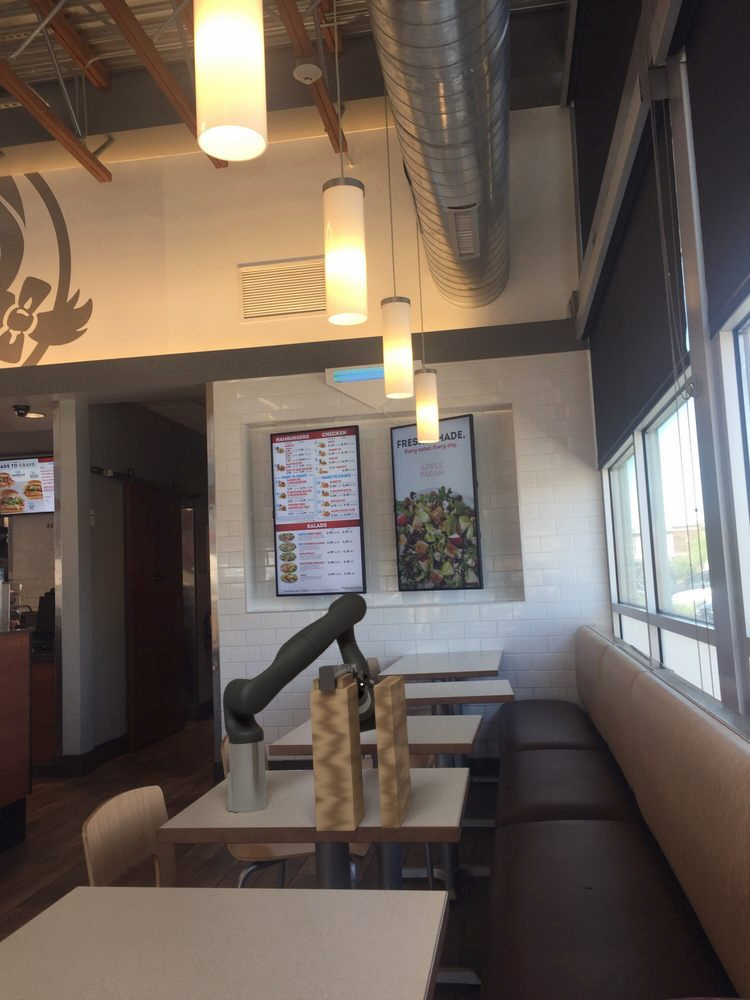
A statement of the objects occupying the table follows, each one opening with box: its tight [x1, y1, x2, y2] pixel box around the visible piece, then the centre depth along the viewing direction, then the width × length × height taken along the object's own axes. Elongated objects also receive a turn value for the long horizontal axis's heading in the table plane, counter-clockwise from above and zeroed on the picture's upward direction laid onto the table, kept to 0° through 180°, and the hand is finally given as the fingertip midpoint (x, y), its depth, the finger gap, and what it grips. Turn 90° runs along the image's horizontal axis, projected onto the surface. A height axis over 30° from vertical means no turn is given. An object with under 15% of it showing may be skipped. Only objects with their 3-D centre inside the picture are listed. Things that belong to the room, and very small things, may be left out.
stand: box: [309, 673, 413, 832], centre depth 204 cm, size 19×24×34 cm
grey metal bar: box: [318, 663, 356, 690], centre depth 206 cm, size 25×4×5 cm, turn 170°
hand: (341, 669), depth 209 cm, fingers closed on grey metal bar, 3 cm apart
